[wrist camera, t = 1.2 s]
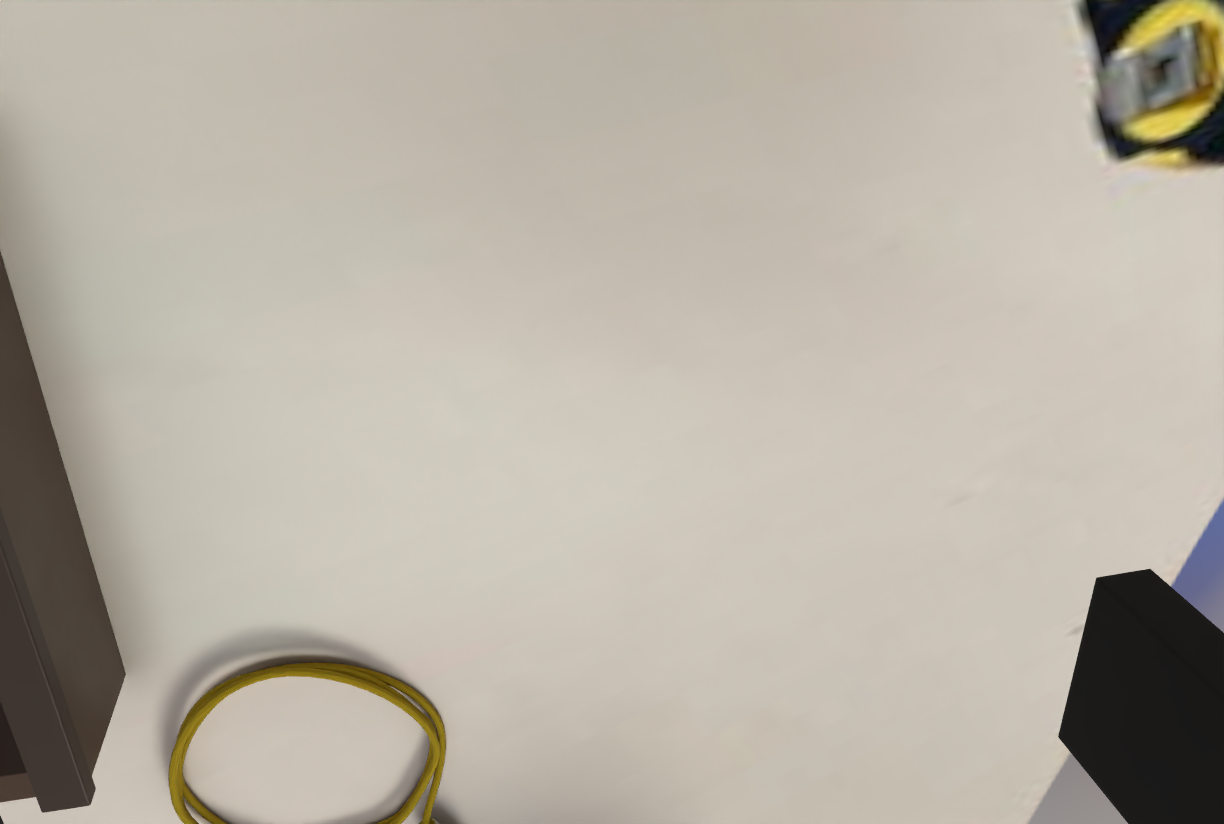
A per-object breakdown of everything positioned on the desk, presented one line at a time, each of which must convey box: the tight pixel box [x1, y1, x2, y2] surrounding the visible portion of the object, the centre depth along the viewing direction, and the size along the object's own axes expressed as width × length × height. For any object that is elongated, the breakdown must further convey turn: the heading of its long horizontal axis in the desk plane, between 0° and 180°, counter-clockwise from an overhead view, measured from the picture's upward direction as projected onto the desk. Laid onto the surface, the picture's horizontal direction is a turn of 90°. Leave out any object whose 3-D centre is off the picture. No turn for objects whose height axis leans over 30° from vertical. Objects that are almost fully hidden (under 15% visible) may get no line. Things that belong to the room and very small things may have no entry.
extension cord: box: [169, 663, 446, 824], centre depth 44 cm, size 12×16×2 cm
